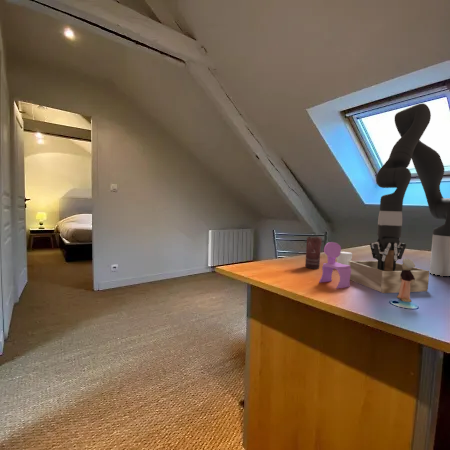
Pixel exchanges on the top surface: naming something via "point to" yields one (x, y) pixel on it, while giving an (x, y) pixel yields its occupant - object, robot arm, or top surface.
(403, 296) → the grandmother figurine
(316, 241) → the can
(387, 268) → the peg
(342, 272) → the toy chair
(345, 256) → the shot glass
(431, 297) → the top surface
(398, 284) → the crate
